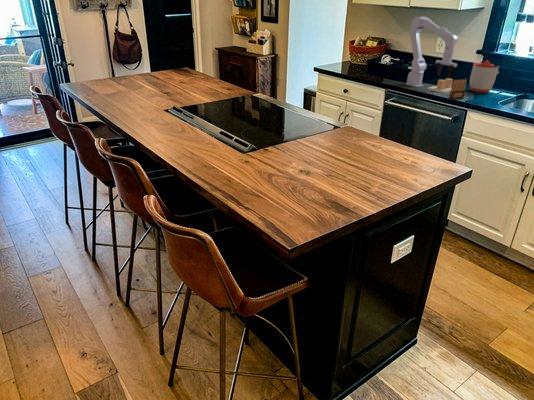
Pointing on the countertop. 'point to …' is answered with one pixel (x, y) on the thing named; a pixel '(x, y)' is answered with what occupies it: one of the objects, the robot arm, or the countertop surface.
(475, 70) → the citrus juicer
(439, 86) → the jaw block
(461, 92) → the ammunition clip
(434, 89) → the housing
